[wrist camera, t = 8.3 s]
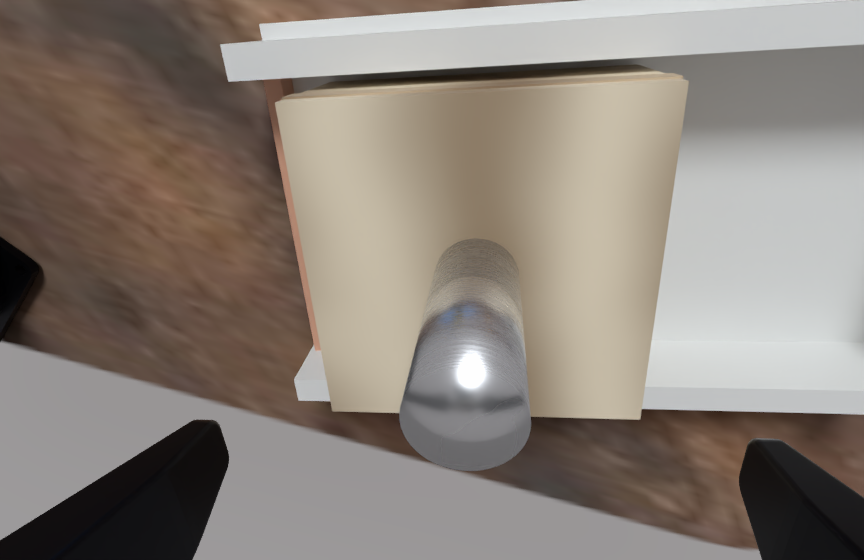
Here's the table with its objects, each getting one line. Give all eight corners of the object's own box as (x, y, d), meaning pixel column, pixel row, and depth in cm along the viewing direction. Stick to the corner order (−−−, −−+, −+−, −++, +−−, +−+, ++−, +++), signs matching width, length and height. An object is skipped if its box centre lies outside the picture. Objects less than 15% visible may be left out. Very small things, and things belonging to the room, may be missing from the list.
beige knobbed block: (364, 333, 22) (258, 581, 12) (328, 80, 18) (121, 155, 8) (611, 335, 21) (711, 614, 11) (639, 62, 16) (846, 126, 7)
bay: (328, 355, 24) (282, 446, 19) (268, 23, 18) (176, 25, 13) (873, 362, 21) (994, 473, 16) (1020, -32, 15) (1289, -57, 10)
